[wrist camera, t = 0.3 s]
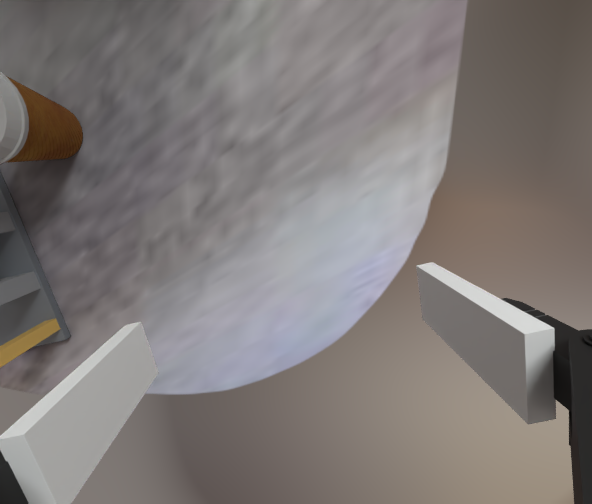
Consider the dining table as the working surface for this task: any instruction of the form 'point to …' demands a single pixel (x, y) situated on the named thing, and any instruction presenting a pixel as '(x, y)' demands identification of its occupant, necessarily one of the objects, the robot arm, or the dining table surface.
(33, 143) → the disposable coffee cup
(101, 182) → the dining table surface
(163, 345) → the dining table surface
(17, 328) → the collar bench
